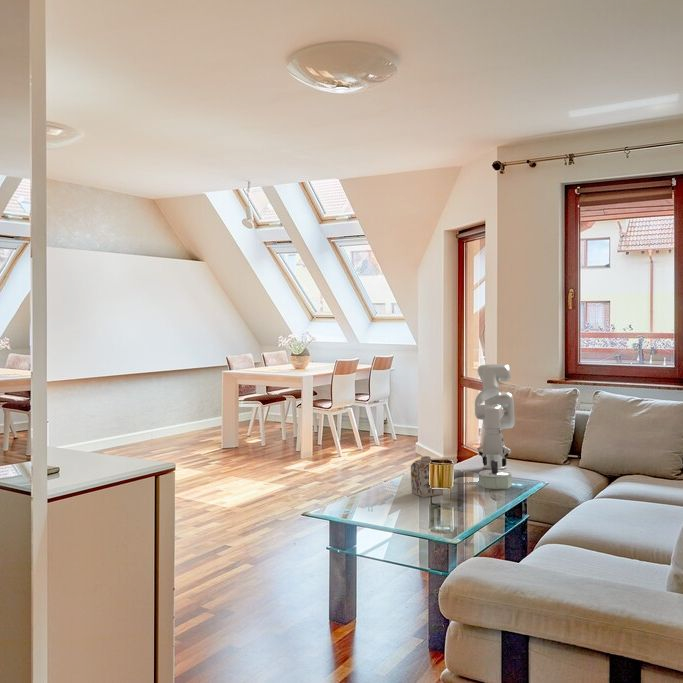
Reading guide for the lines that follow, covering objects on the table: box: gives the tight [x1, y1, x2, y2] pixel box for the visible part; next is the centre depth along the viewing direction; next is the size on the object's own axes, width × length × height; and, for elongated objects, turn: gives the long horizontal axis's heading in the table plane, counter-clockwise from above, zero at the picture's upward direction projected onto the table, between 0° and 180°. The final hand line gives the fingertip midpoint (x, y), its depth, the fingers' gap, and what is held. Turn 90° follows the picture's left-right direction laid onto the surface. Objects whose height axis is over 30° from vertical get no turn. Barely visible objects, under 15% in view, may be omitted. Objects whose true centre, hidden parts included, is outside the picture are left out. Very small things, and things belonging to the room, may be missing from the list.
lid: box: [478, 460, 512, 478], centre depth 338 cm, size 16×16×7 cm
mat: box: [455, 481, 479, 486], centre depth 352 cm, size 17×17×1 cm
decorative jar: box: [410, 455, 444, 498], centre depth 330 cm, size 12×12×18 cm
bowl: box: [478, 474, 513, 490], centre depth 338 cm, size 15×15×6 cm
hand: (494, 465), depth 338 cm, fingers open, 9 cm apart
